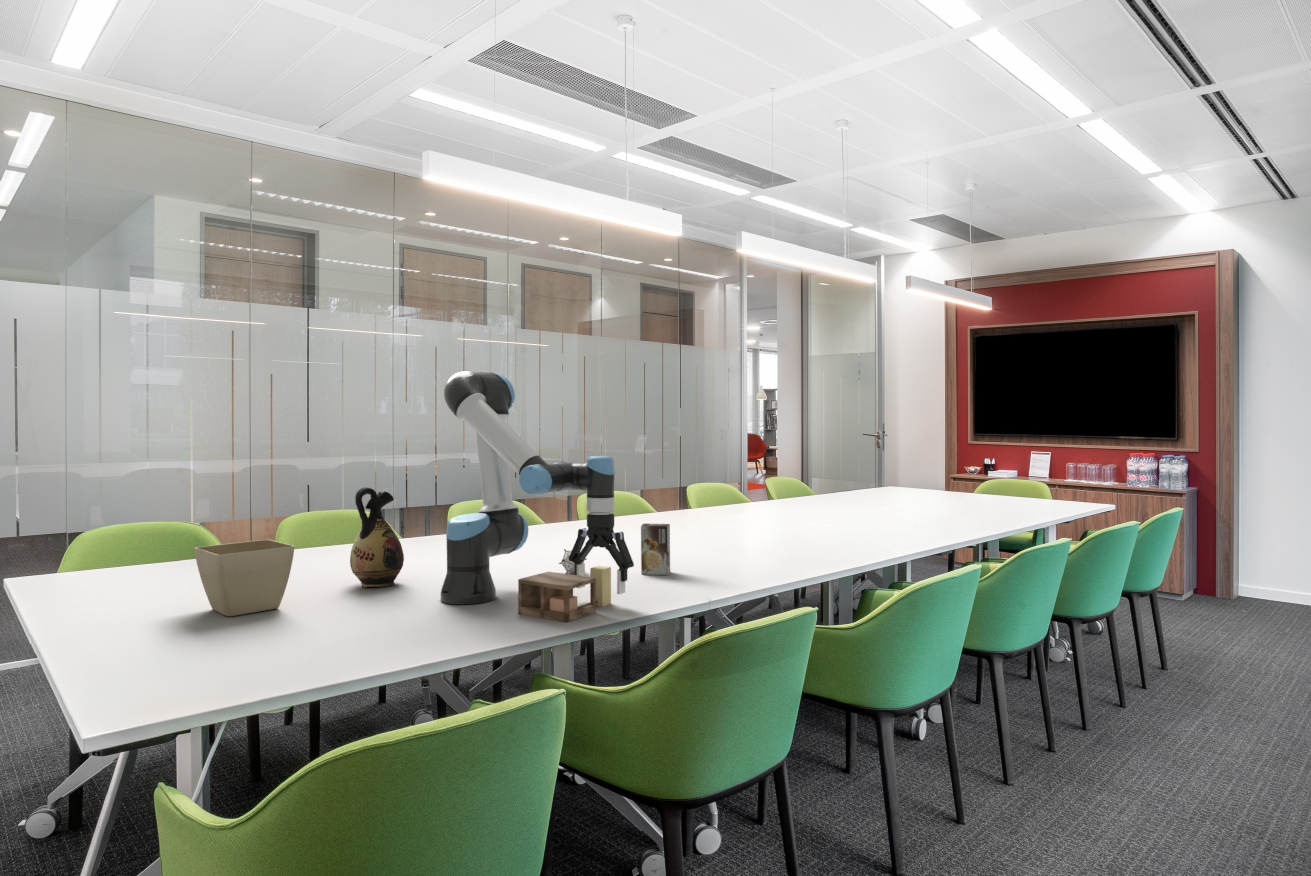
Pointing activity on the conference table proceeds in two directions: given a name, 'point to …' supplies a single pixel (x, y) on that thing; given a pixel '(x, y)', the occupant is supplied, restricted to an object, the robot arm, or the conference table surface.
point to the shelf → (549, 584)
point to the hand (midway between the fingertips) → (600, 590)
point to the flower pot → (245, 575)
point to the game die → (568, 562)
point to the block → (602, 591)
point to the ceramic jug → (375, 543)
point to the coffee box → (655, 549)
